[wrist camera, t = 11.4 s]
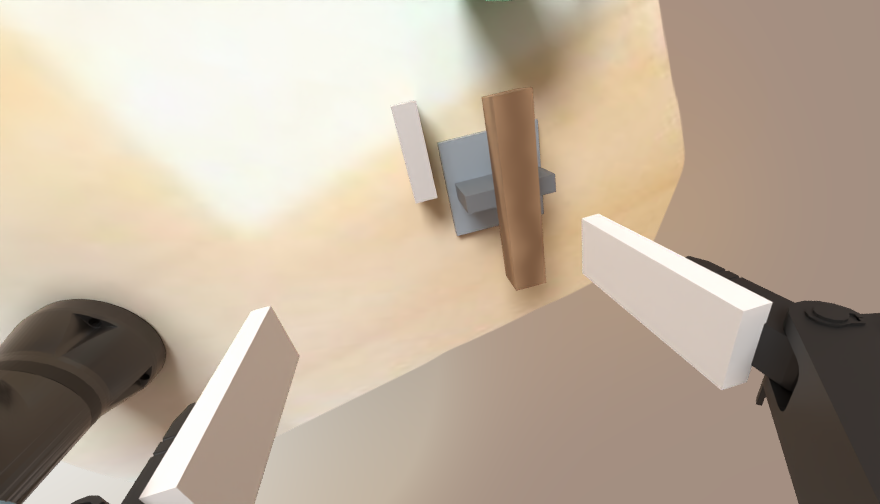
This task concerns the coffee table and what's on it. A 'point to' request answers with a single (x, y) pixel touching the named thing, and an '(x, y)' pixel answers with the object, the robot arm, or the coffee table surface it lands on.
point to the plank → (516, 183)
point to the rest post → (414, 150)
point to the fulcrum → (477, 181)
